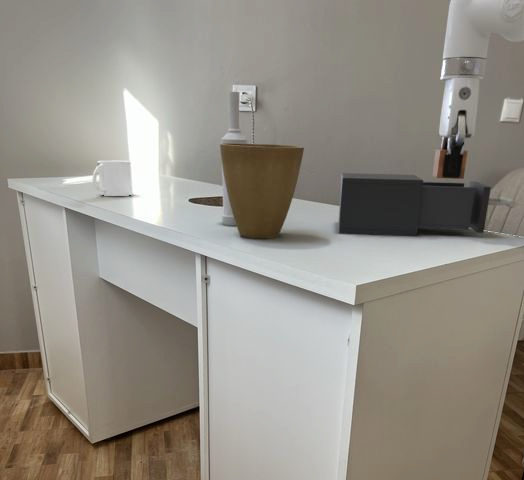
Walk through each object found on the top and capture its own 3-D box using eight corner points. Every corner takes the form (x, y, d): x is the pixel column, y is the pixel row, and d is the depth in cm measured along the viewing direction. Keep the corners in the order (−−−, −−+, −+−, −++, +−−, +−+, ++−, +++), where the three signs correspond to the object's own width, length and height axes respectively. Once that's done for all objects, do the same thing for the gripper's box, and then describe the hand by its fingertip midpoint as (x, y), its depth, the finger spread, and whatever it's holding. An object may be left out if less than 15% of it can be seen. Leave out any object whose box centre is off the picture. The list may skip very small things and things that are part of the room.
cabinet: (408, 225, 118) (414, 174, 114) (416, 236, 106) (423, 180, 102) (338, 223, 119) (341, 173, 116) (338, 233, 108) (342, 177, 104)
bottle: (229, 221, 119) (228, 93, 110) (251, 223, 117) (252, 92, 108) (217, 224, 115) (215, 91, 105) (239, 226, 112) (239, 91, 103)
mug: (123, 192, 167) (121, 160, 163) (138, 195, 160) (136, 161, 157) (85, 195, 159) (82, 161, 156) (99, 198, 153) (96, 162, 150)
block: (458, 176, 110) (462, 149, 108) (463, 178, 105) (467, 150, 103) (432, 176, 110) (435, 149, 108) (436, 178, 105) (440, 150, 104)
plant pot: (233, 244, 95) (233, 145, 89) (212, 230, 108) (210, 142, 102) (313, 240, 100) (317, 146, 94) (283, 227, 113) (286, 143, 107)
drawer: (498, 224, 115) (505, 182, 112) (515, 234, 104) (523, 187, 101) (403, 221, 117) (407, 179, 114) (410, 230, 106) (415, 184, 103)
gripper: (496, 66, 92) (478, 180, 99) (473, 75, 108) (458, 173, 115) (450, 66, 93) (435, 179, 100) (433, 75, 109) (421, 172, 116)
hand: (448, 175), depth 107 cm, fingers closed on block, 5 cm apart
